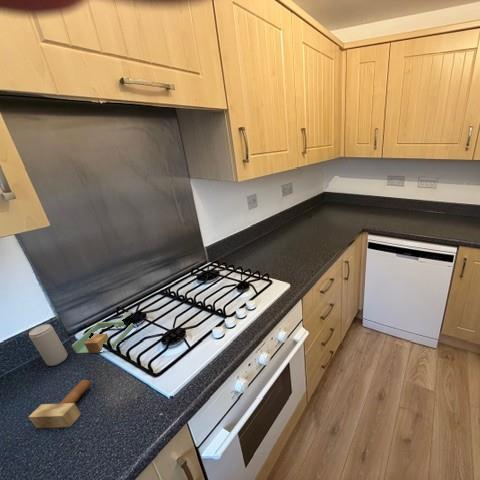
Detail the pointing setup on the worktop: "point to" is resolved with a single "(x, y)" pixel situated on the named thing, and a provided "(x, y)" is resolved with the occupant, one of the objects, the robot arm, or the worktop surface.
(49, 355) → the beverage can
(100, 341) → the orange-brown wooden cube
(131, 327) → the pale green curved piece
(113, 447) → the worktop surface
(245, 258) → the worktop surface
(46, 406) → the wooden t-shaped piece
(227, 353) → the worktop surface
